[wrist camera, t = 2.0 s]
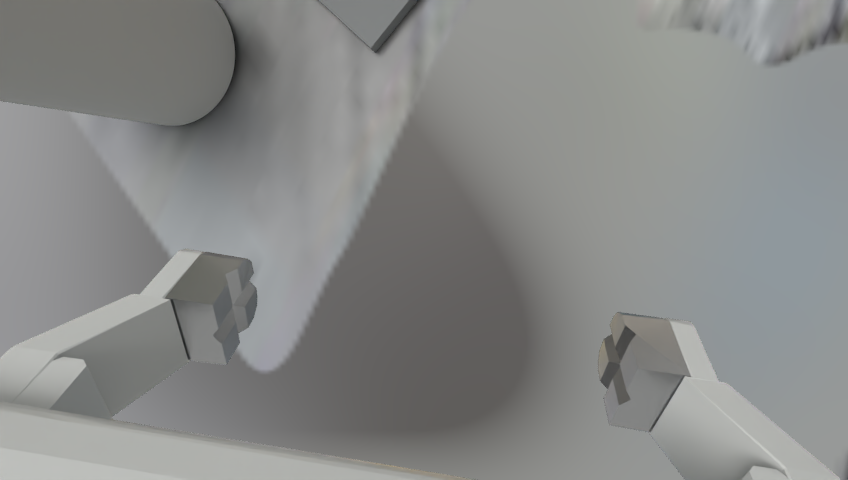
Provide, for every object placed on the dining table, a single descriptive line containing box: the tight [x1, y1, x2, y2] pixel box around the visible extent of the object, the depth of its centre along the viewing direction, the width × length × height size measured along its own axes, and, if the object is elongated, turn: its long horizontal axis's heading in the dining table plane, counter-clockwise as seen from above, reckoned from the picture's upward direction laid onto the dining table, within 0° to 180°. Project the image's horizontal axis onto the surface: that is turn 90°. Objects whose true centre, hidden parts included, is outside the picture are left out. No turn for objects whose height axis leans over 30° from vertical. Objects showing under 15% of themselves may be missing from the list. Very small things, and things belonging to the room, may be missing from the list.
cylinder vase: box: [0, 0, 235, 126], centre depth 32 cm, size 12×12×25 cm
